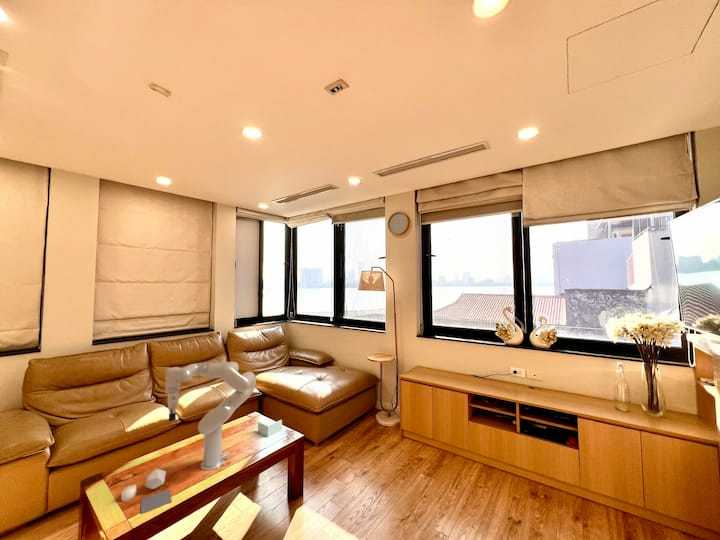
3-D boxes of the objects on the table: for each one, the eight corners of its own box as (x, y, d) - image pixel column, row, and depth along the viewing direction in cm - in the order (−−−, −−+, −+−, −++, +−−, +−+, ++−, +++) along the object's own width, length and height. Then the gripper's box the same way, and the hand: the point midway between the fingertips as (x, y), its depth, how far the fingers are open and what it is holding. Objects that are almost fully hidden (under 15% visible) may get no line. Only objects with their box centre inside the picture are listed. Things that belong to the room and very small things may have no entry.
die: (162, 480, 156) (162, 461, 156) (167, 487, 150) (168, 468, 151) (143, 489, 149) (143, 469, 150) (148, 497, 144) (148, 476, 144)
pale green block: (281, 430, 208) (281, 420, 209) (267, 437, 199) (268, 426, 199) (271, 425, 215) (271, 415, 216) (257, 432, 206) (258, 421, 206)
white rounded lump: (136, 491, 148) (136, 483, 148) (136, 498, 143) (136, 489, 143) (121, 496, 144) (121, 488, 145) (120, 503, 140) (120, 495, 140)
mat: (169, 489, 149) (169, 488, 149) (171, 502, 140) (171, 501, 140) (141, 500, 142) (141, 499, 142) (140, 514, 133) (140, 513, 133)
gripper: (181, 391, 166) (180, 423, 165) (179, 384, 178) (178, 413, 177) (166, 394, 161) (165, 427, 160) (164, 386, 173) (163, 417, 172)
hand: (172, 420), depth 169 cm, fingers closed
